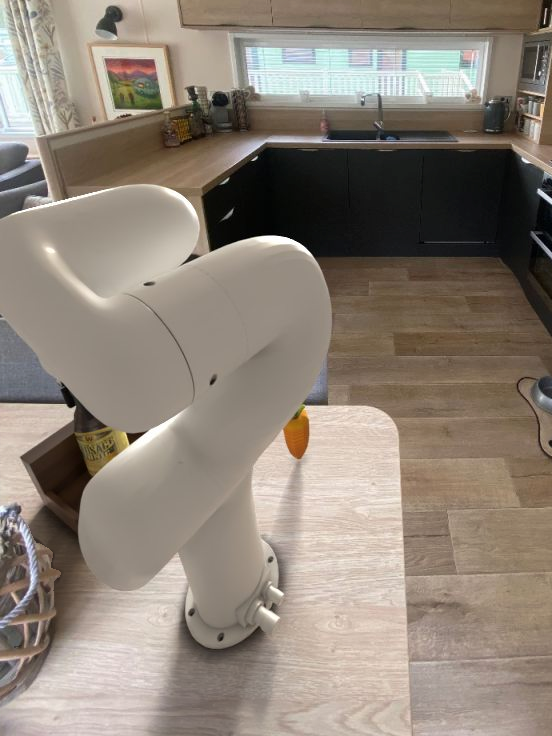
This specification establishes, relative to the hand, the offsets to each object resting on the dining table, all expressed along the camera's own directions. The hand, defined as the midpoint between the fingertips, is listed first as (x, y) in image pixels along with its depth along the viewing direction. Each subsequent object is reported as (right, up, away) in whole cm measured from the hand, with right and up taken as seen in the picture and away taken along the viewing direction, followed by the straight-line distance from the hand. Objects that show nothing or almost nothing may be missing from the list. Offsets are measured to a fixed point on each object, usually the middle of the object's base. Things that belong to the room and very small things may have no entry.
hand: (88, 406), depth 63 cm
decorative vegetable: (+32, -9, +9) cm, 34 cm away
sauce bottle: (0, -14, +6) cm, 15 cm away
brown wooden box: (-1, -17, +8) cm, 19 cm away
